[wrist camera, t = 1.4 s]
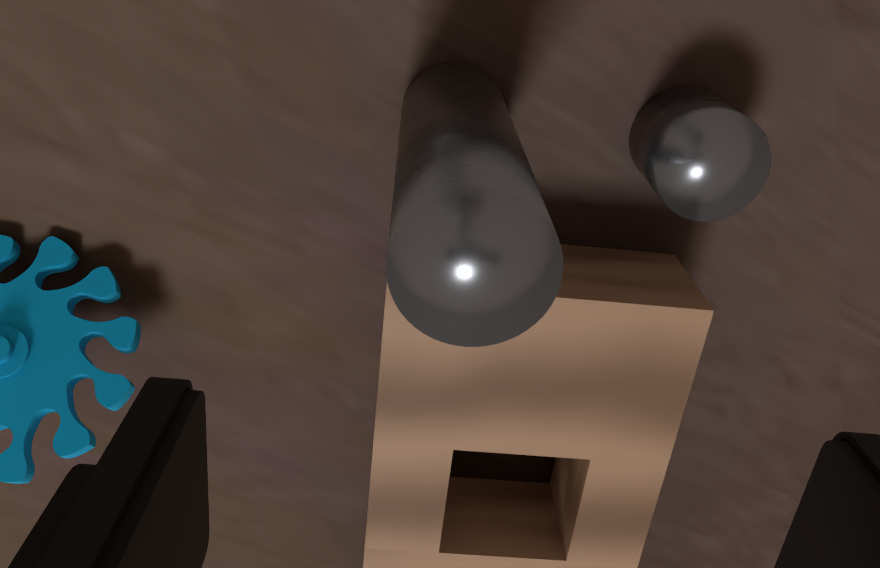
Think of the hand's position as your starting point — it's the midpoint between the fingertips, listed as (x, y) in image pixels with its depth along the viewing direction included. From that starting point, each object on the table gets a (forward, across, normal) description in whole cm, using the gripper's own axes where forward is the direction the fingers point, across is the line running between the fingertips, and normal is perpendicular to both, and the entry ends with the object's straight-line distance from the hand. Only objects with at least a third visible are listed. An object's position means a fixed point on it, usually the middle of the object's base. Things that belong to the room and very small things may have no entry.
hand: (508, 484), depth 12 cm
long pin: (+21, 0, -1) cm, 21 cm away
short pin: (+21, -9, -1) cm, 23 cm away
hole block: (+21, -4, +14) cm, 26 cm away
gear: (+21, +17, +10) cm, 29 cm away
